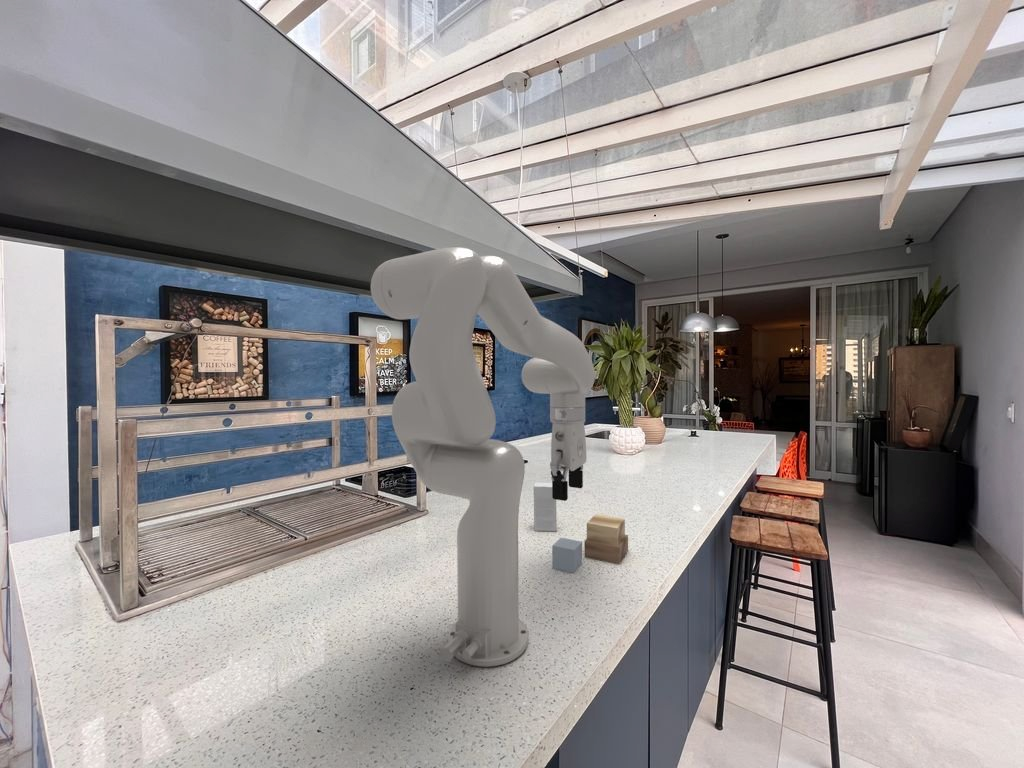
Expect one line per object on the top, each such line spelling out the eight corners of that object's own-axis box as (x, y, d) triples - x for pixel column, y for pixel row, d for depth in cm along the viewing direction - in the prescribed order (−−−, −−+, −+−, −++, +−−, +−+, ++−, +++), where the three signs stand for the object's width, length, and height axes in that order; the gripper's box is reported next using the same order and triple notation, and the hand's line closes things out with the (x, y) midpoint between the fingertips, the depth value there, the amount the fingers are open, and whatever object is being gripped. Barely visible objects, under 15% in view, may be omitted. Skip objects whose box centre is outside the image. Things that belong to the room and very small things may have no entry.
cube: (574, 573, 88) (574, 550, 88) (552, 568, 91) (552, 545, 91) (582, 564, 93) (582, 541, 93) (560, 559, 95) (560, 537, 95)
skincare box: (556, 526, 116) (556, 482, 115) (556, 532, 111) (556, 486, 111) (534, 525, 116) (534, 482, 116) (533, 531, 112) (533, 486, 112)
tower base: (619, 565, 92) (619, 547, 92) (584, 558, 96) (584, 540, 96) (628, 551, 100) (628, 535, 99) (594, 545, 103) (594, 529, 103)
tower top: (617, 546, 93) (617, 528, 93) (586, 540, 96) (586, 523, 96) (624, 535, 99) (624, 518, 99) (595, 530, 103) (595, 514, 102)
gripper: (570, 420, 82) (570, 507, 82) (596, 411, 97) (596, 485, 98) (535, 418, 85) (535, 502, 86) (565, 410, 101) (566, 481, 101)
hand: (568, 493), depth 92 cm, fingers open, 9 cm apart
